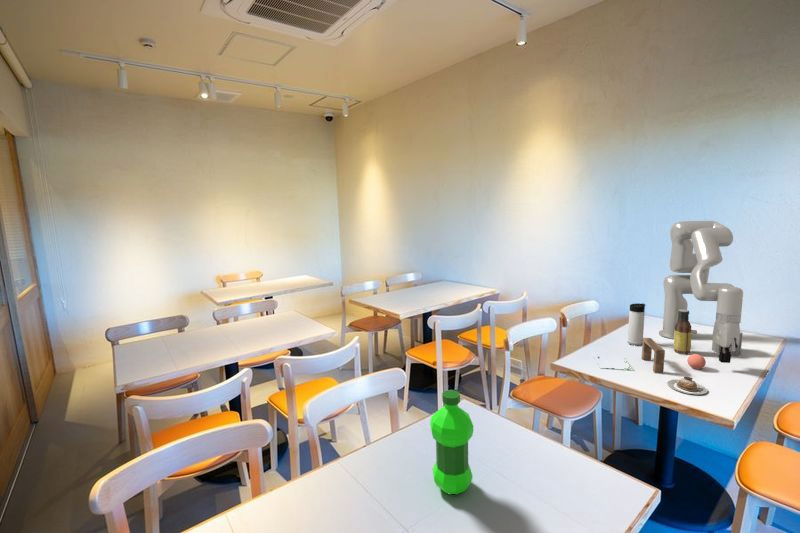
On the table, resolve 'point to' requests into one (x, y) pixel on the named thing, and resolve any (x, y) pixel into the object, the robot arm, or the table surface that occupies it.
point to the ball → (696, 361)
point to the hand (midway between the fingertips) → (724, 361)
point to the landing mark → (629, 366)
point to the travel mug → (636, 324)
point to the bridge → (658, 354)
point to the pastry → (687, 385)
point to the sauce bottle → (682, 333)
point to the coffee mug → (737, 352)
